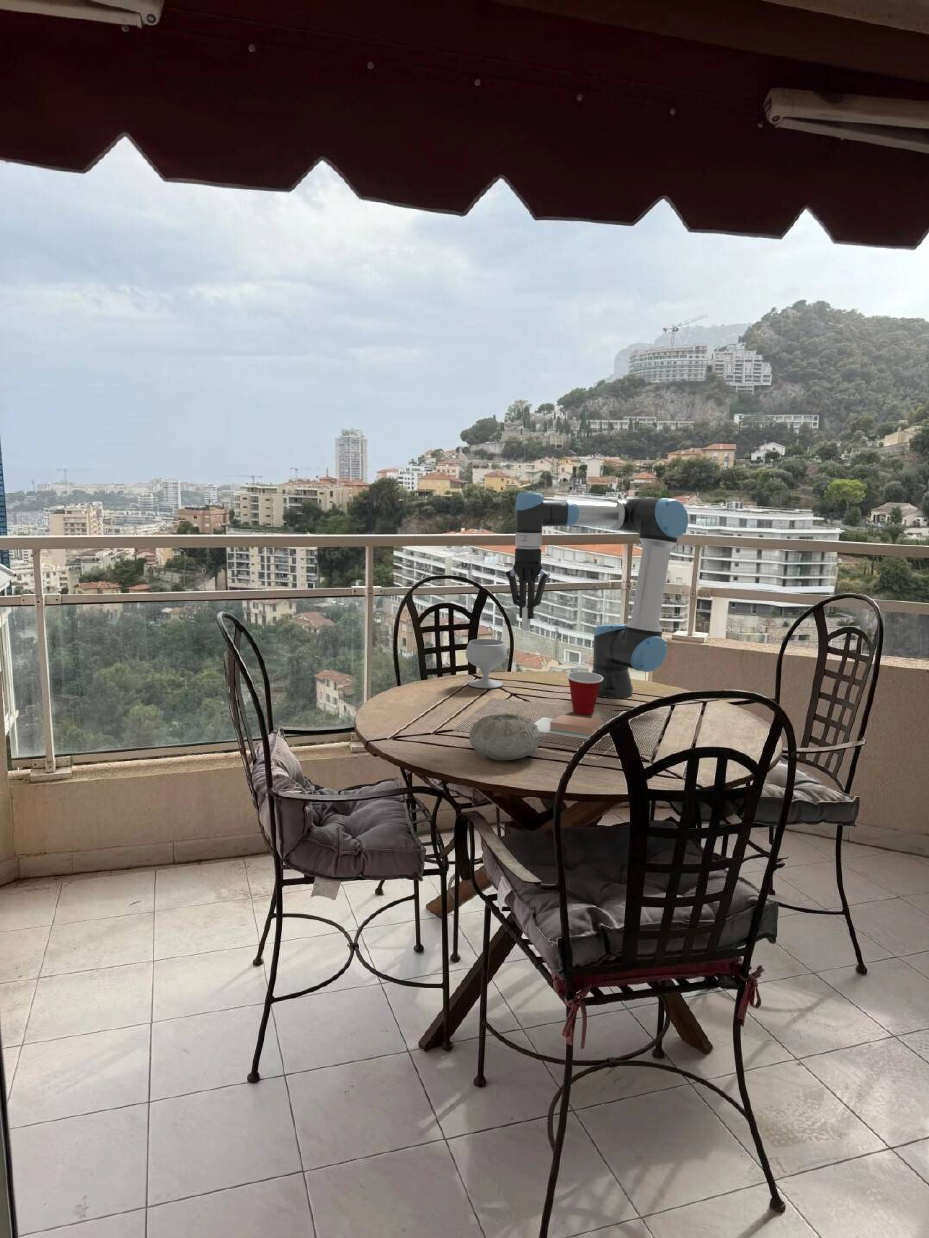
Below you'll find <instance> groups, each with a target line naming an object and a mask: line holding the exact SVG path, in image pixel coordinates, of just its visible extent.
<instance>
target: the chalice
mask: <svg viewBox="0 0 929 1238" xmlns="http://www.w3.org/2000/svg"><path fill="white" fill-rule="evenodd" d="M506 647H507V646H506V645H505V643H504V641H502V640H499V639H494V638H493V639H491V638H479V639H478V638H477V639H472V640H469V642H468V644H467V646H466V649H465V658H466V660H467V662H468V663H469V664H471V665H473V666H475V667H476V668H478V669H479V670H480V671H481V673H482V674H483V675H482V678H481V679H473V680H470V681H469V682H468V683H467V685H468V686H470V687H472V688H473V687H474V688H475V689H476V688H478V689H497V688H501V687H503V686H504V683H503V682H502V681H500V680H494V679H490V677H489V675H490V672H491V671H492V670H493V669H495V668H497V667H498V666H500V665H502V664H503V663H505V661H506V660H507V656H508V651H507V648H506Z"/></svg>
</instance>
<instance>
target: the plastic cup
mask: <svg viewBox="0 0 929 1238" xmlns="http://www.w3.org/2000/svg"><path fill="white" fill-rule="evenodd" d="M566 677H567V679H568V684H569V691H570V692H569V693H570V701H571V705H572V713H574V714H575V715H580V716H590V715H593V714H594V711H595V706H596V703H597V699H598V696H597V695H598V690H599V687H600V685H601V682H602V681H603V677H602V676H601V675H598V674H596V673H592V671H591V672H589V671H584V670H583V671H571V672H568V673H567V675H566Z"/></svg>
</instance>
